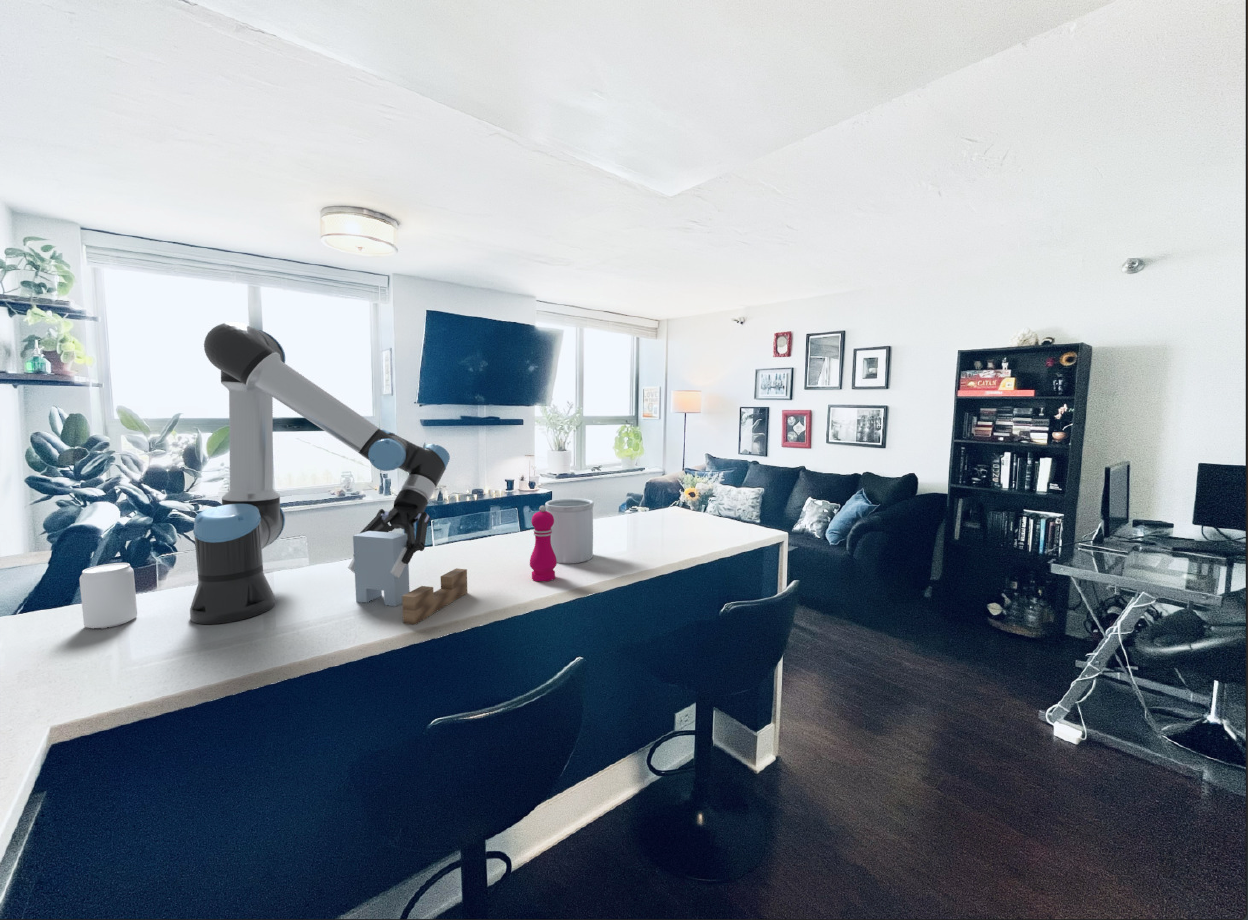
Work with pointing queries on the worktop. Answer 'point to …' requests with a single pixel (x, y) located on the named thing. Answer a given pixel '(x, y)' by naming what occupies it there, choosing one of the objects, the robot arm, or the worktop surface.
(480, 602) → the worktop surface
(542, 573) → the pepper mill
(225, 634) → the worktop surface
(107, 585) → the beverage can
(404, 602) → the walnut slotted rail
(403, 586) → the tall grey pillar
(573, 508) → the utensil holder
